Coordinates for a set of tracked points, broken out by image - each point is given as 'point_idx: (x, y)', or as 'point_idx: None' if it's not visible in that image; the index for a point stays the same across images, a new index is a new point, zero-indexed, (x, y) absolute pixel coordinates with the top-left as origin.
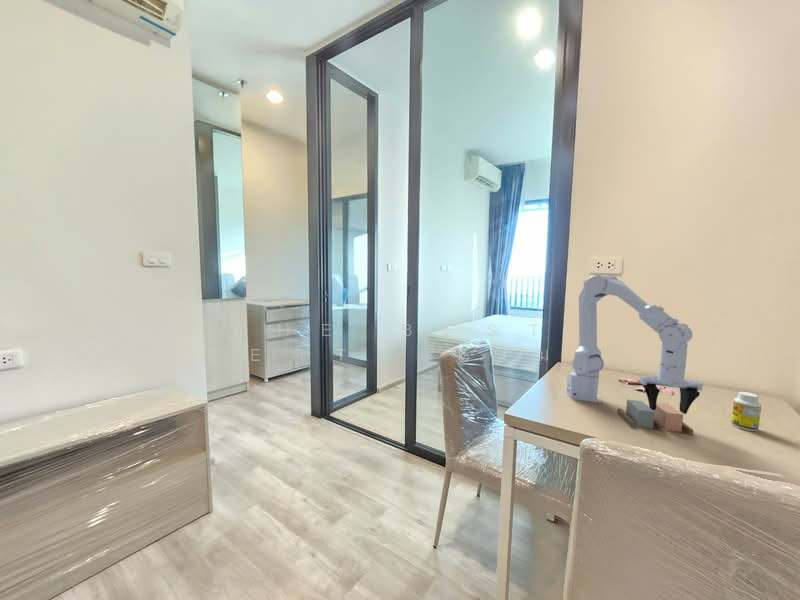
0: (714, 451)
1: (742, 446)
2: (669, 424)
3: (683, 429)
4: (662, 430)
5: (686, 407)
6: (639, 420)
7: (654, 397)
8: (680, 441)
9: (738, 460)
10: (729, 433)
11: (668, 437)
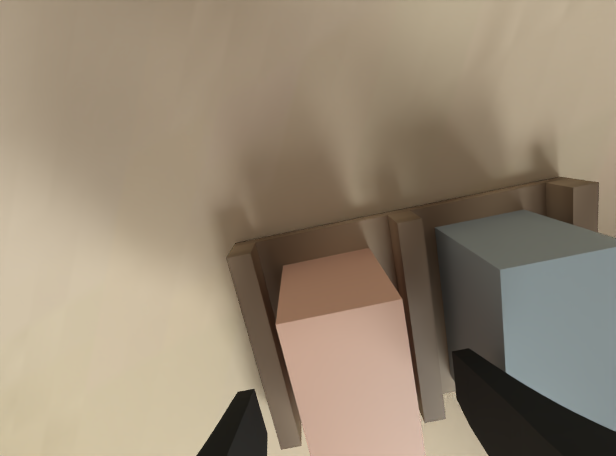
0: (166, 81)
1: (10, 248)
2: (353, 266)
3: (267, 293)
4: (392, 216)
5: (231, 429)
6: (544, 220)
7: (568, 427)
8: (319, 134)
9: (64, 10)
10: (42, 395)
11: (371, 160)
